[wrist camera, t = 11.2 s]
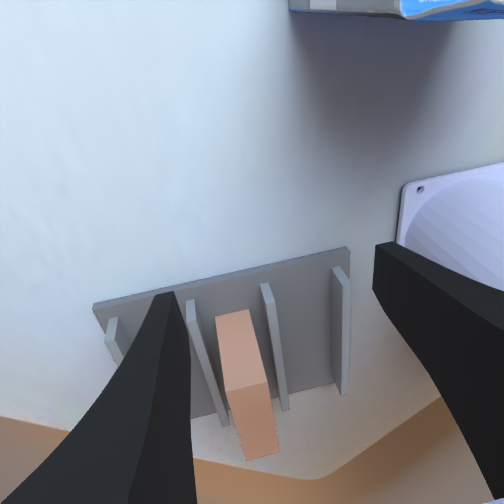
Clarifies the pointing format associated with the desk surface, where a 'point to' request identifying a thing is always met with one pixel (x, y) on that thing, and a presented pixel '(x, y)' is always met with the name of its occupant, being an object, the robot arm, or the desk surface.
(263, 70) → the desk surface
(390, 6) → the label tape box
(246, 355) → the tile
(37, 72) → the desk surface
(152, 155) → the desk surface
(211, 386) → the rack
